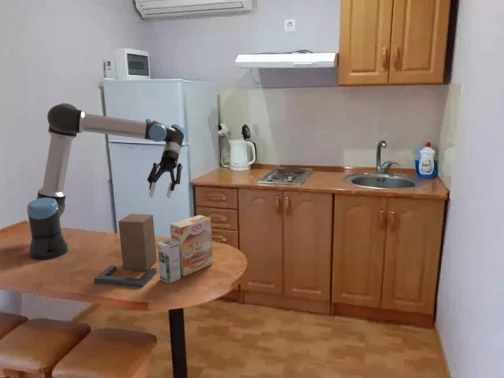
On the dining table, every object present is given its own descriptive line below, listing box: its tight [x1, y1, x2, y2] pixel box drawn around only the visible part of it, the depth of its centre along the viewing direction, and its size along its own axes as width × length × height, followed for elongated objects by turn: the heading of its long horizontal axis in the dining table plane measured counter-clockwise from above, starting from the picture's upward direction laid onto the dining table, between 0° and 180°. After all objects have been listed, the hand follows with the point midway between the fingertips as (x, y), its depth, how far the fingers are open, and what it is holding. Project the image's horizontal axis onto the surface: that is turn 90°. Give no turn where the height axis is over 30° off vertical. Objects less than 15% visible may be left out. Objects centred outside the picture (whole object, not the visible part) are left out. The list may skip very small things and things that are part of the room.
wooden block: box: [118, 213, 158, 272], centre depth 166 cm, size 10×10×20 cm
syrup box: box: [157, 238, 182, 285], centre depth 153 cm, size 6×6×14 cm
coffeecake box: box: [169, 214, 213, 277], centre depth 162 cm, size 15×7×20 cm, turn 137°
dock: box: [93, 264, 157, 288], centre depth 157 cm, size 19×12×2 cm, turn 78°
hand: (159, 196), depth 184 cm, fingers open, 8 cm apart
